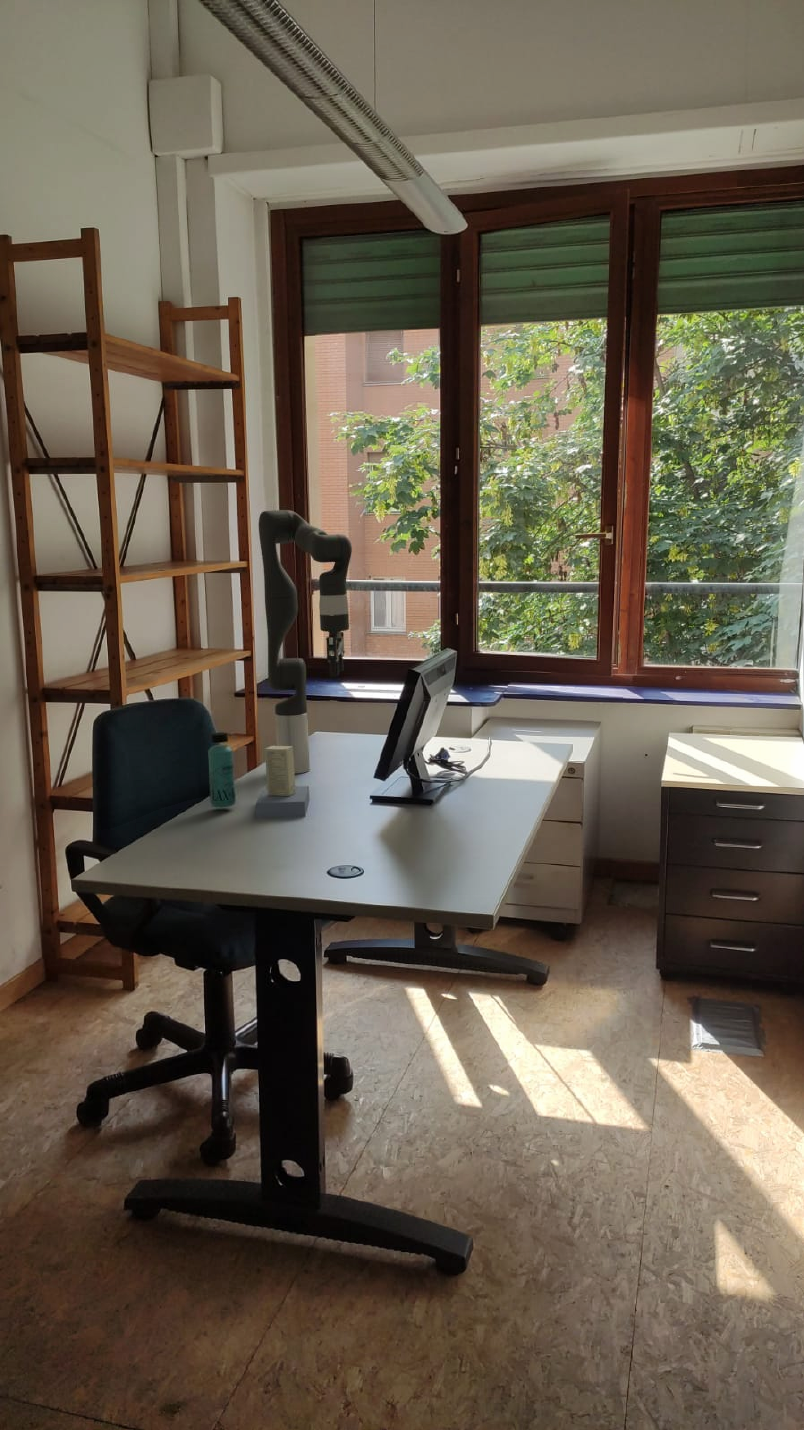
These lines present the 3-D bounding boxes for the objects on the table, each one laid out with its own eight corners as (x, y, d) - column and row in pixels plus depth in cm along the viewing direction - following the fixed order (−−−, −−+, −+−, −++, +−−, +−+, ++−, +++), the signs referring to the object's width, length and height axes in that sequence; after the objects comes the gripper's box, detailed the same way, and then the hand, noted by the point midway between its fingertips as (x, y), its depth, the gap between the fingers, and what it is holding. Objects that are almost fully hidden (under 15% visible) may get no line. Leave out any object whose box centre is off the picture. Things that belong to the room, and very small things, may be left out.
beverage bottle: (205, 811, 268) (200, 734, 264) (221, 805, 274) (216, 729, 270) (226, 814, 265) (221, 736, 261) (242, 807, 271) (237, 731, 267)
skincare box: (296, 792, 269) (294, 745, 267) (289, 796, 265) (287, 749, 263) (273, 791, 271) (271, 744, 269) (266, 795, 267) (264, 748, 265)
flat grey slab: (263, 804, 276) (262, 787, 275) (309, 802, 276) (308, 785, 275) (256, 820, 260) (255, 803, 260) (305, 819, 261) (304, 801, 260)
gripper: (324, 610, 282) (326, 670, 285) (315, 614, 268) (318, 678, 271) (352, 609, 281) (354, 670, 284) (344, 614, 267) (347, 677, 270)
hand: (336, 673), depth 278 cm, fingers open, 8 cm apart
